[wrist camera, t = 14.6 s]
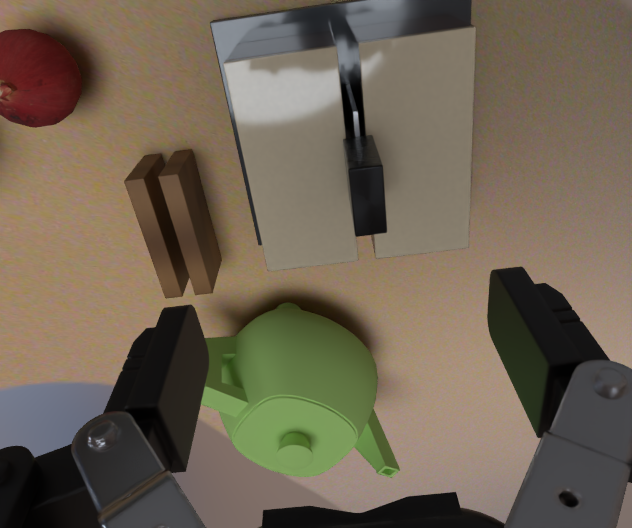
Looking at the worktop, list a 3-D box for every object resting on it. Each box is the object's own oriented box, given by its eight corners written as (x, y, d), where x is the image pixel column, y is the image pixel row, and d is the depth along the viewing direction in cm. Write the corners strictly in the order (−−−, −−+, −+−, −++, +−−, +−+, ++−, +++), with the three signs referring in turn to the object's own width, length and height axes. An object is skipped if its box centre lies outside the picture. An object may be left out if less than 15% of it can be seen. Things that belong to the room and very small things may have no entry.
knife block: (143, 155, 39) (123, 181, 35) (192, 149, 39) (177, 173, 34) (179, 265, 44) (165, 298, 40) (221, 259, 44) (212, 293, 40)
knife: (334, 85, 35) (345, 141, 25) (360, 81, 35) (381, 136, 25) (344, 178, 39) (357, 260, 29) (368, 175, 39) (389, 256, 29)
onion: (95, 119, 37) (48, 157, 31) (13, 96, 37) (-55, 131, 30) (101, 36, 35) (50, 59, 28) (11, 10, 34) (-64, 26, 27)
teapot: (422, 349, 50) (452, 460, 39) (341, 427, 55) (348, 541, 45) (245, 250, 43) (224, 349, 33) (174, 348, 49) (137, 460, 39)
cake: (211, 20, 34) (189, 37, 28) (467, -18, 33) (506, -9, 27) (259, 240, 43) (251, 291, 37) (462, 215, 42) (490, 264, 36)
